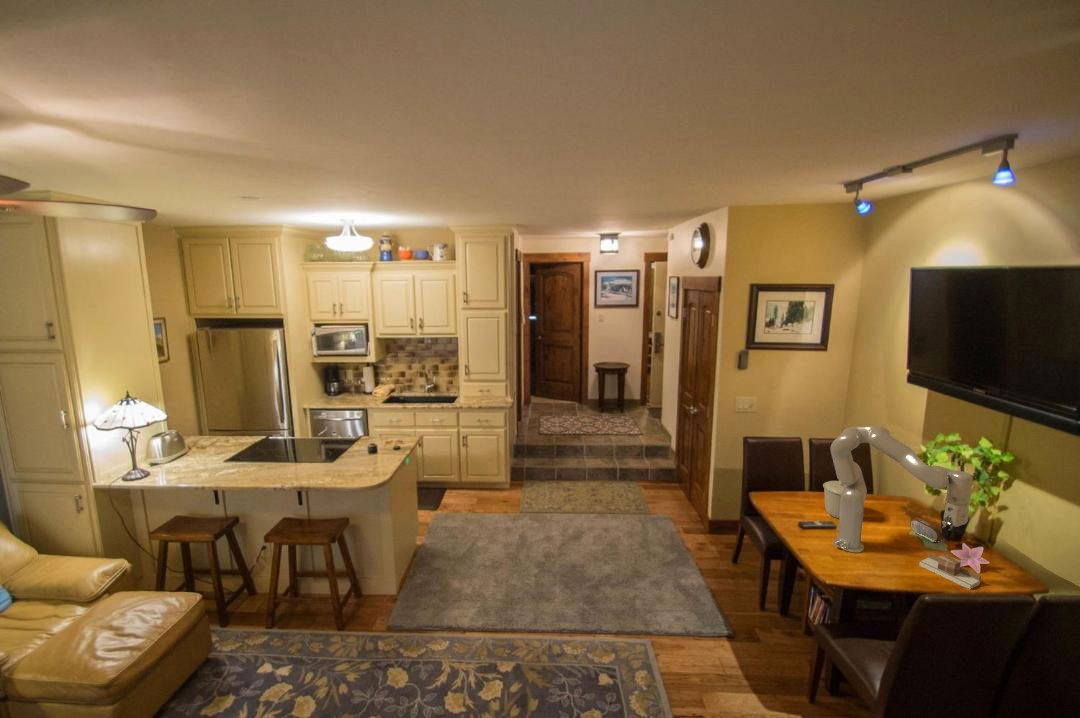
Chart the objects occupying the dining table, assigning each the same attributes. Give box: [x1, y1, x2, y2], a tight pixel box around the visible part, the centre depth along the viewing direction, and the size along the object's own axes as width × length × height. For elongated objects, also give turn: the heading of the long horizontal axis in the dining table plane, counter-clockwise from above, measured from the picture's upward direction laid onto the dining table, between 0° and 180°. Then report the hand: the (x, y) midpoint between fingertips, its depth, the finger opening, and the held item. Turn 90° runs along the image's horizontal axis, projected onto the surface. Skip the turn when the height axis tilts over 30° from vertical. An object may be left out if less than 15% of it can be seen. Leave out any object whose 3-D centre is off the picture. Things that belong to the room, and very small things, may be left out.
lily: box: [950, 542, 990, 574], centre depth 213 cm, size 12×12×10 cm
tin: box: [909, 517, 944, 543], centre depth 237 cm, size 15×3×8 cm, turn 12°
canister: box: [822, 480, 844, 520], centre depth 260 cm, size 18×18×21 cm
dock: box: [918, 553, 982, 590], centre depth 207 cm, size 8×19×4 cm, turn 23°
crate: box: [938, 553, 961, 576], centre depth 207 cm, size 5×6×6 cm
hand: (952, 534), depth 204 cm, fingers open, 9 cm apart
